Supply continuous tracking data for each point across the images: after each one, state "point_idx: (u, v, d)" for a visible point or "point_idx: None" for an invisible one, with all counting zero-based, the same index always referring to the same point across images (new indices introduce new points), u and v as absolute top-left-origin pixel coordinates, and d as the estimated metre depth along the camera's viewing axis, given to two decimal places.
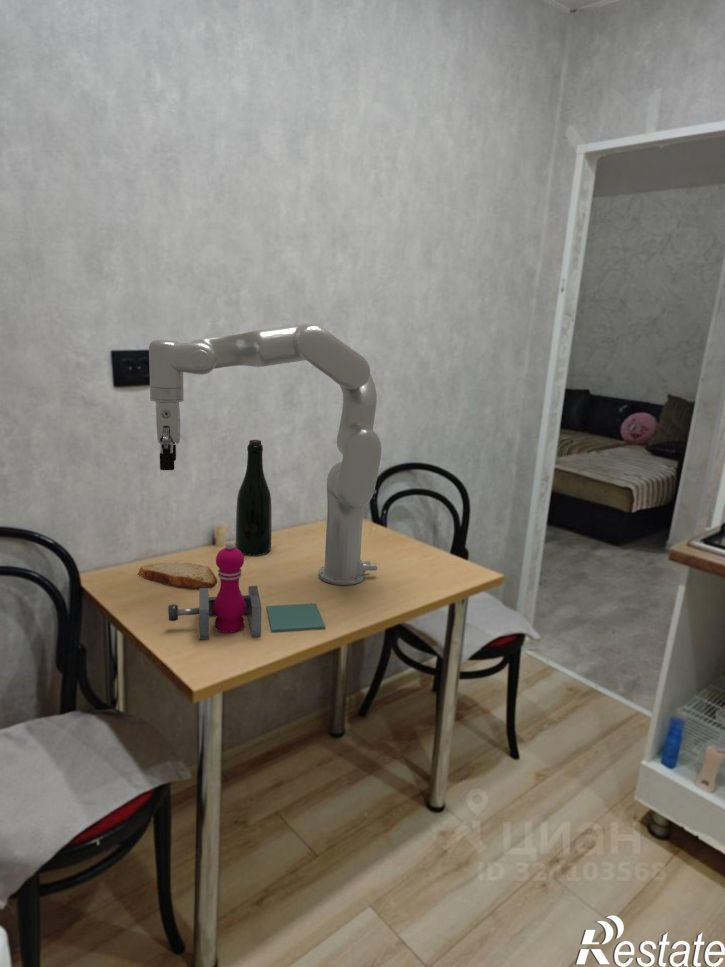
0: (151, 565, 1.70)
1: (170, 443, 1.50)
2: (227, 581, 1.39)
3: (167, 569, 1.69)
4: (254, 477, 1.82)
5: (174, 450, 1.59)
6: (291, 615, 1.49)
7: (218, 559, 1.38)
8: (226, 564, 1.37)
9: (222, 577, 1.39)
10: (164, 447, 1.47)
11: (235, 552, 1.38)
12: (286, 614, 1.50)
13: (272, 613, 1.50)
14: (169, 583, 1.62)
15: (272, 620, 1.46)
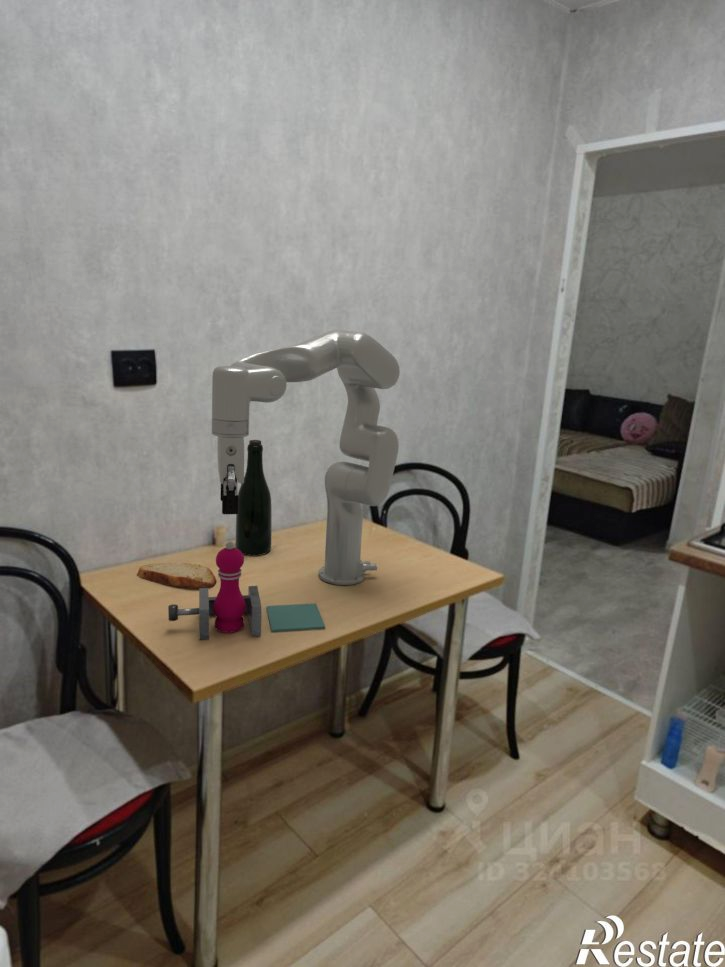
0: (150, 565, 1.70)
1: (234, 483, 1.31)
2: (227, 581, 1.39)
3: (166, 569, 1.69)
4: (254, 477, 1.82)
5: None
6: (291, 615, 1.49)
7: (218, 559, 1.38)
8: (226, 564, 1.37)
9: (222, 577, 1.39)
10: (229, 489, 1.28)
11: (235, 552, 1.38)
12: (286, 614, 1.50)
13: (272, 613, 1.50)
14: (169, 583, 1.62)
15: (272, 620, 1.46)
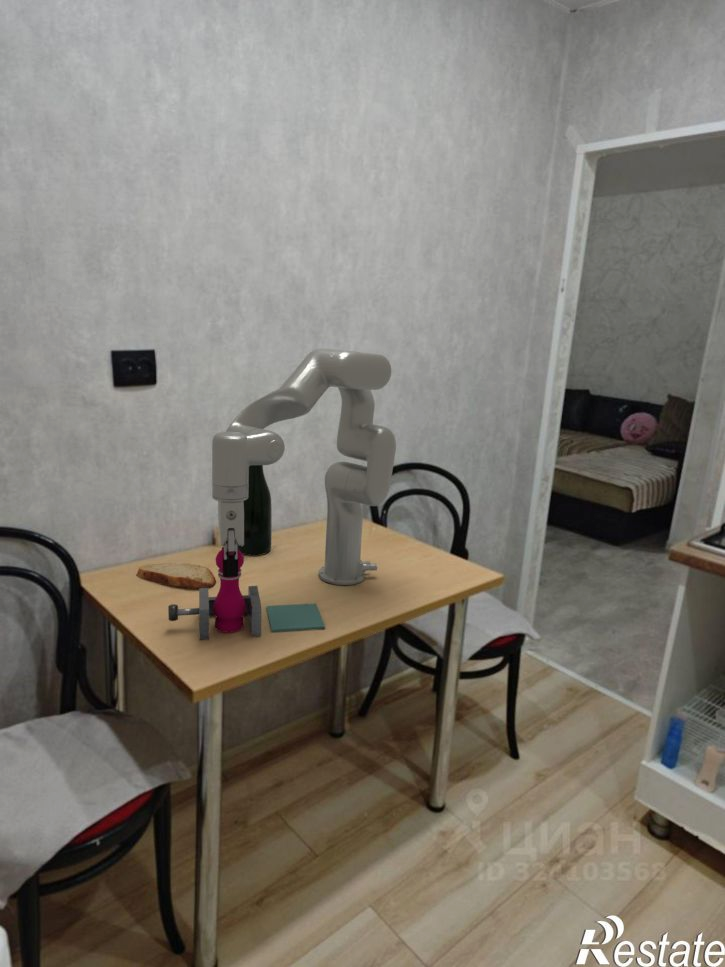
0: (150, 566, 1.70)
1: (234, 547, 1.36)
2: (227, 581, 1.39)
3: (166, 570, 1.68)
4: (254, 477, 1.82)
5: None
6: (291, 615, 1.49)
7: (218, 559, 1.38)
8: None
9: (222, 577, 1.39)
10: (229, 555, 1.33)
11: None
12: (286, 614, 1.50)
13: (272, 613, 1.50)
14: (168, 584, 1.62)
15: (272, 620, 1.46)
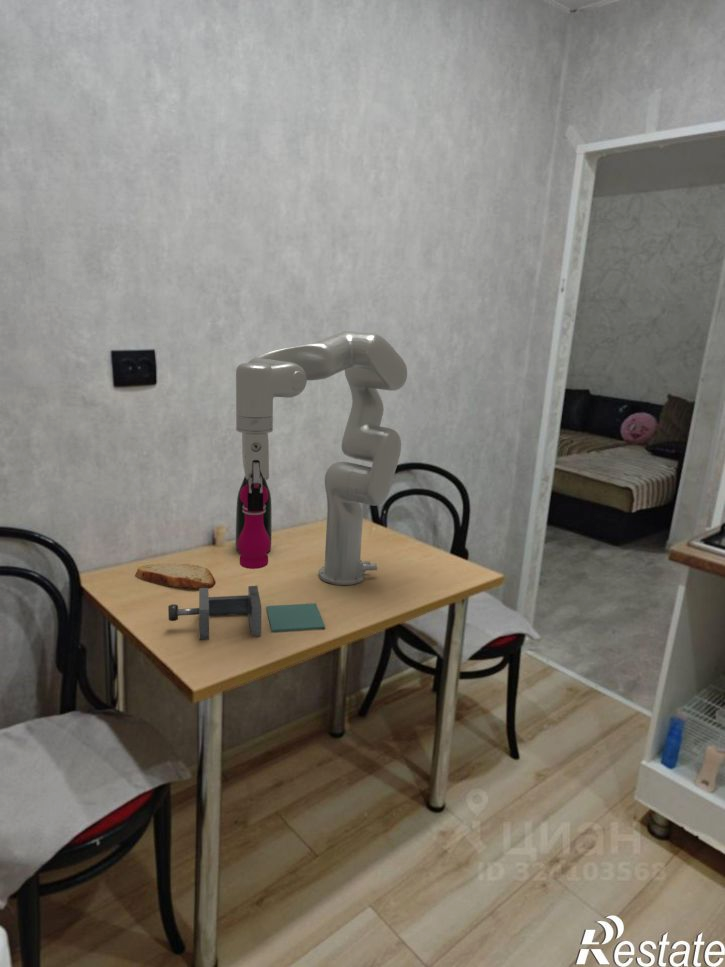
0: (148, 566, 1.70)
1: None
2: (251, 516, 1.37)
3: (165, 570, 1.68)
4: None
5: None
6: (291, 615, 1.49)
7: (242, 493, 1.36)
8: None
9: (246, 512, 1.37)
10: (254, 488, 1.32)
11: None
12: (286, 614, 1.50)
13: (272, 613, 1.50)
14: (167, 584, 1.62)
15: (272, 620, 1.46)
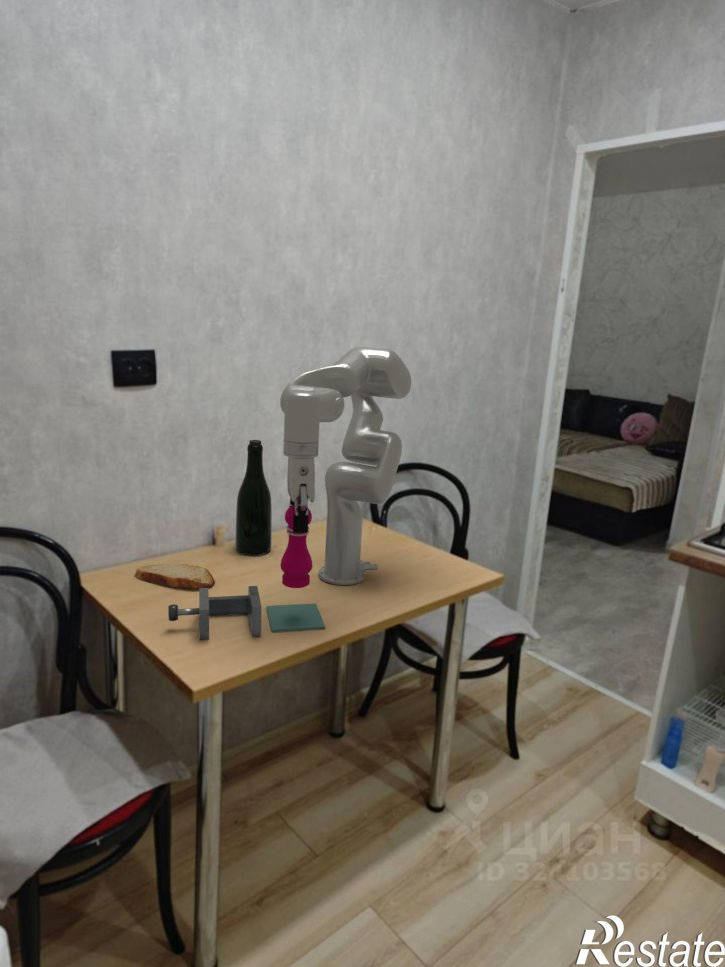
0: (148, 567, 1.69)
1: None
2: (296, 537, 1.42)
3: (164, 570, 1.68)
4: (254, 477, 1.82)
5: None
6: (291, 615, 1.49)
7: (288, 515, 1.41)
8: None
9: (291, 533, 1.42)
10: (301, 510, 1.36)
11: None
12: (286, 614, 1.50)
13: (272, 613, 1.50)
14: (167, 584, 1.61)
15: (272, 620, 1.46)
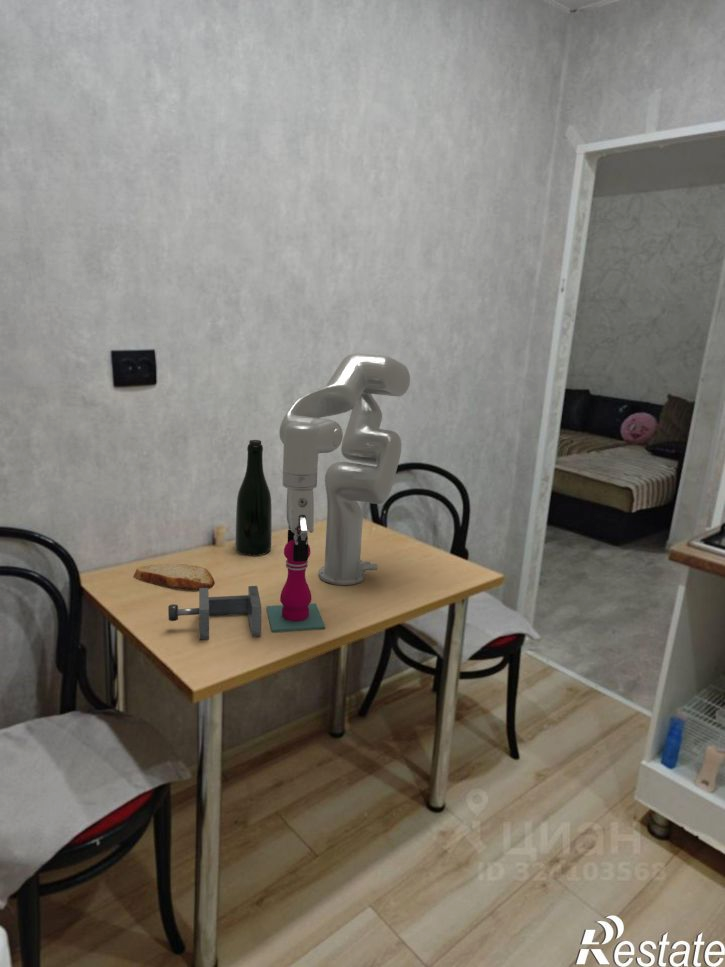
0: (147, 567, 1.69)
1: None
2: (295, 571, 1.45)
3: (163, 570, 1.68)
4: (254, 477, 1.82)
5: None
6: None
7: (287, 550, 1.43)
8: None
9: (290, 568, 1.44)
10: (301, 539, 1.37)
11: None
12: None
13: (272, 613, 1.50)
14: (166, 585, 1.61)
15: (272, 620, 1.46)
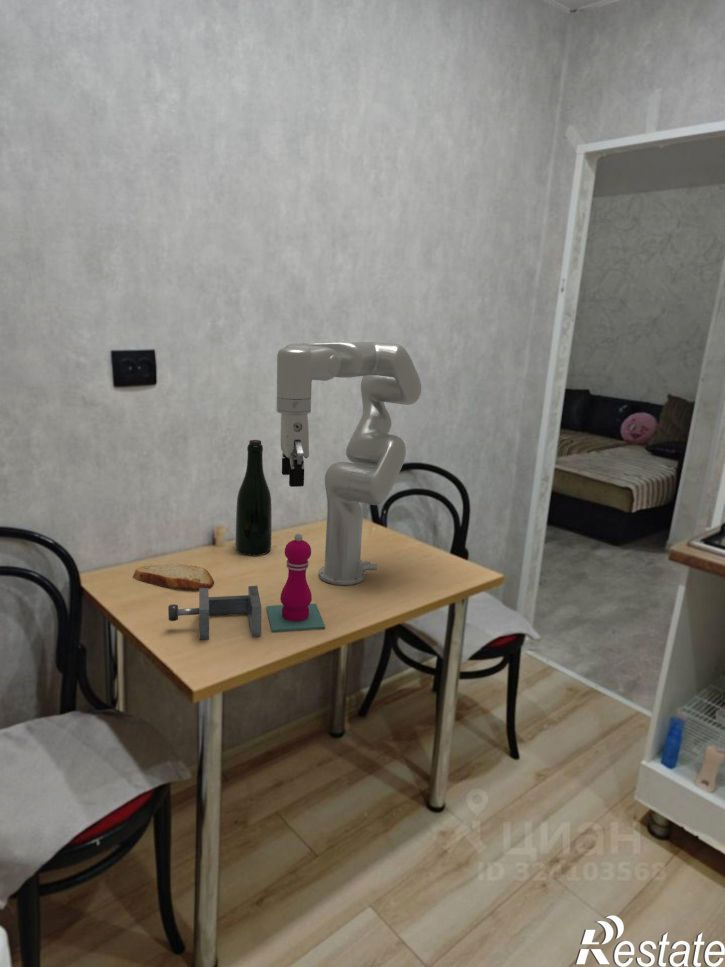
0: (146, 567, 1.69)
1: None
2: (296, 572, 1.45)
3: (163, 571, 1.67)
4: (254, 477, 1.82)
5: None
6: None
7: (288, 550, 1.43)
8: (296, 555, 1.42)
9: (291, 568, 1.44)
10: (297, 463, 1.37)
11: (304, 544, 1.44)
12: None
13: (272, 613, 1.50)
14: (166, 585, 1.61)
15: (272, 620, 1.46)
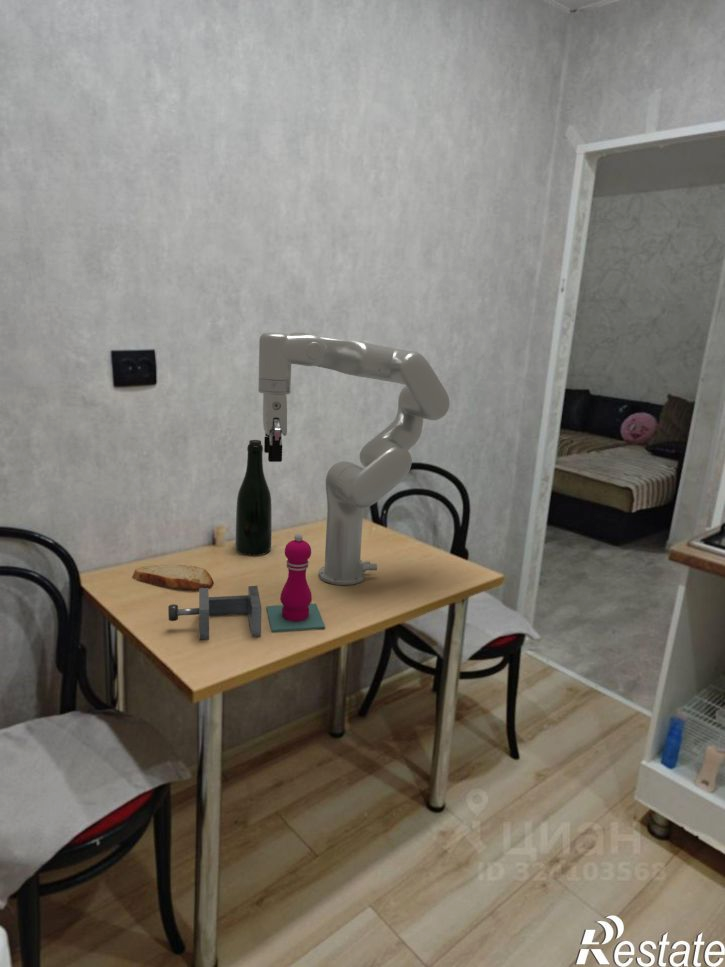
0: (145, 567, 1.69)
1: None
2: (296, 572, 1.45)
3: (162, 571, 1.67)
4: (254, 477, 1.82)
5: None
6: None
7: (288, 550, 1.43)
8: (296, 555, 1.42)
9: (291, 568, 1.44)
10: (275, 438, 1.48)
11: (304, 544, 1.44)
12: None
13: (272, 613, 1.50)
14: (165, 585, 1.61)
15: (272, 620, 1.46)
